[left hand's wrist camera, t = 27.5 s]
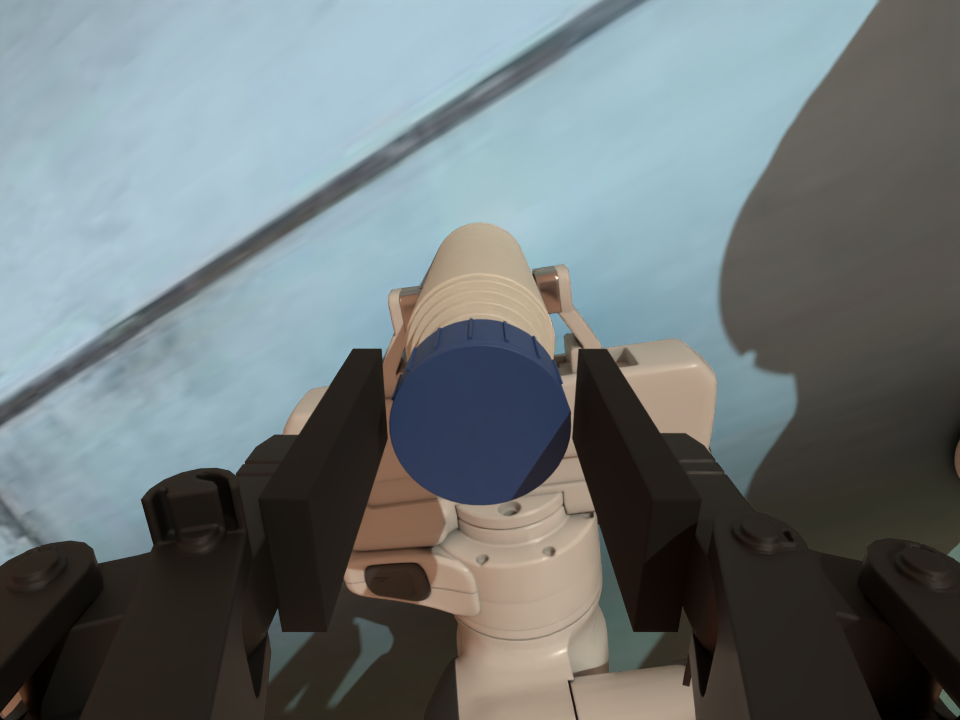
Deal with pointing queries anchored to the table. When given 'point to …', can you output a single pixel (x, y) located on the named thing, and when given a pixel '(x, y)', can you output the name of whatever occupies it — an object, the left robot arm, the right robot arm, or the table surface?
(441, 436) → the cap
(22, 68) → the table surface
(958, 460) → the pill bottle
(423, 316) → the bottle
